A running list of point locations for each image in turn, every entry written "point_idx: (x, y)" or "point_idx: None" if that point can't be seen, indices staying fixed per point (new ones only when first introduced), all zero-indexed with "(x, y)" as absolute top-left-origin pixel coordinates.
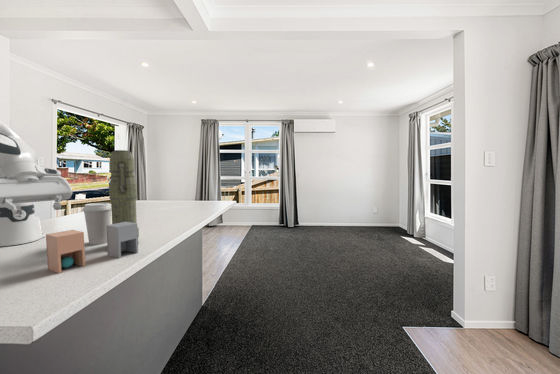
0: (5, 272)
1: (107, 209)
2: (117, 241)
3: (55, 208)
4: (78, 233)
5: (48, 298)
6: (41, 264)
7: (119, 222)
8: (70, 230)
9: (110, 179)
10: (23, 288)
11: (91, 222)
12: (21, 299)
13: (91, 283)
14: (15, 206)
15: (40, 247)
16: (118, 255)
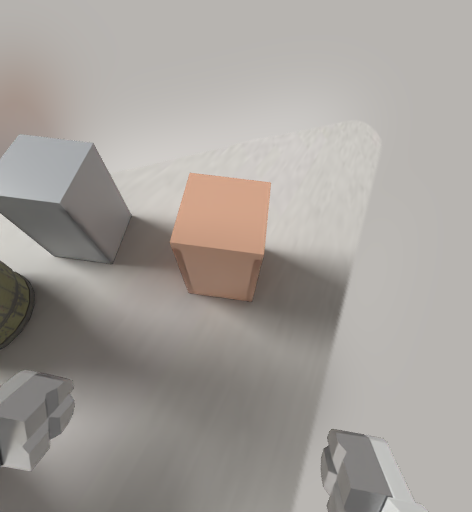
0: (318, 396)
1: None
2: (112, 186)
3: (69, 398)
4: (206, 176)
5: (325, 160)
6: (234, 371)
7: None
8: (182, 236)
9: None
10: (332, 230)
11: None
12: (349, 188)
13: (262, 153)
14: (390, 483)
15: None
16: (128, 213)
